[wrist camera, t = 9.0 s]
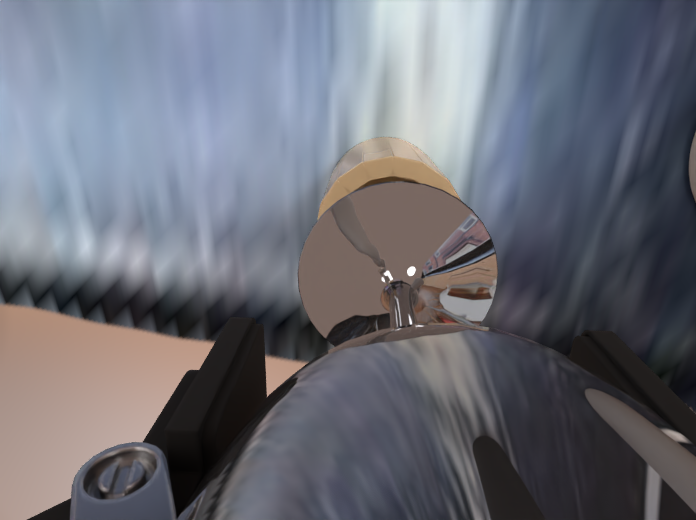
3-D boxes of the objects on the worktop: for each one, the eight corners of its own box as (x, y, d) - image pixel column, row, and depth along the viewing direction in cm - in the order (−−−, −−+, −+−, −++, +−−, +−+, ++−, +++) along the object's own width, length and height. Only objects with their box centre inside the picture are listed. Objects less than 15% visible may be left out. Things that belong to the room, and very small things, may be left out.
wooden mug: (341, 126, 30) (331, 142, 21) (451, 149, 30) (484, 175, 21) (312, 278, 33) (294, 344, 25) (410, 297, 33) (426, 369, 25)
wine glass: (541, 325, 18) (1249, 1300, 3) (348, 403, 19) (299, 1311, 5) (458, 125, 15) (1594, 638, 1) (245, 231, 17) (-399, 1024, 3)
